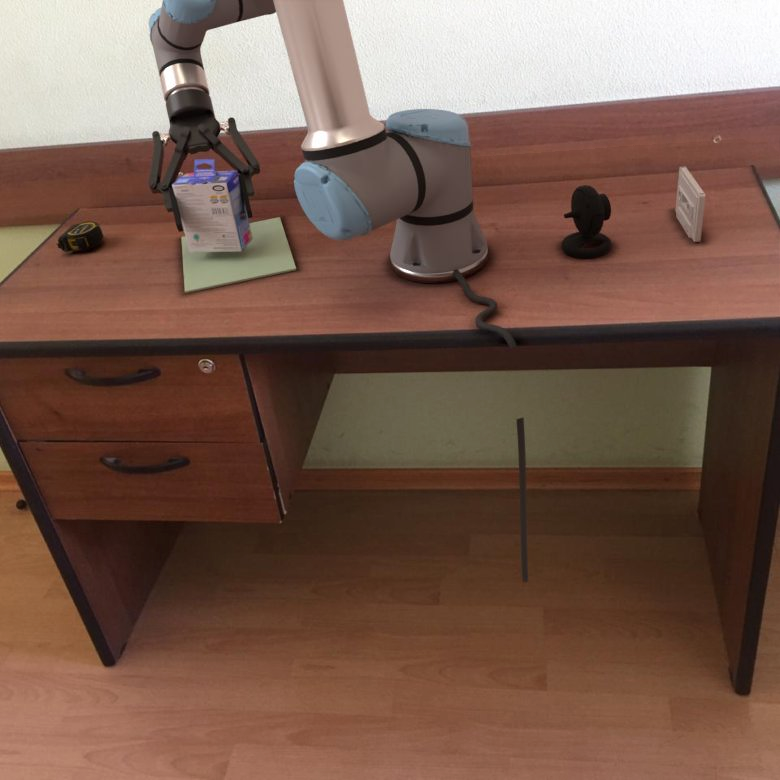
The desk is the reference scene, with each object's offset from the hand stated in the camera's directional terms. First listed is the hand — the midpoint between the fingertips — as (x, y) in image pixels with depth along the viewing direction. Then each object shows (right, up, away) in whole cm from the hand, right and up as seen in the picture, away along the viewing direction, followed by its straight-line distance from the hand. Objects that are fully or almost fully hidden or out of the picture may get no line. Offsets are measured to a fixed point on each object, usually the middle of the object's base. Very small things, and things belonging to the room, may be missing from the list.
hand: (215, 221), depth 135 cm
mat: (+2, -4, +7) cm, 8 cm away
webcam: (+59, -6, -6) cm, 59 cm away
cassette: (+75, -2, -4) cm, 75 cm away
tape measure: (-28, -2, +17) cm, 32 cm away
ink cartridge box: (0, -3, +6) cm, 7 cm away
